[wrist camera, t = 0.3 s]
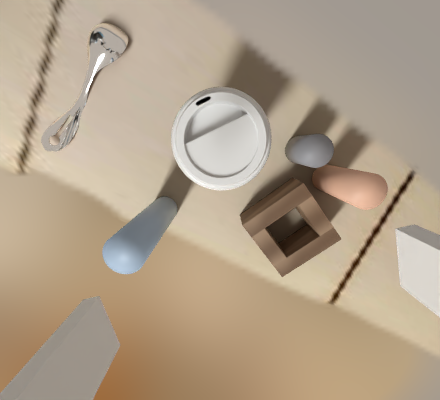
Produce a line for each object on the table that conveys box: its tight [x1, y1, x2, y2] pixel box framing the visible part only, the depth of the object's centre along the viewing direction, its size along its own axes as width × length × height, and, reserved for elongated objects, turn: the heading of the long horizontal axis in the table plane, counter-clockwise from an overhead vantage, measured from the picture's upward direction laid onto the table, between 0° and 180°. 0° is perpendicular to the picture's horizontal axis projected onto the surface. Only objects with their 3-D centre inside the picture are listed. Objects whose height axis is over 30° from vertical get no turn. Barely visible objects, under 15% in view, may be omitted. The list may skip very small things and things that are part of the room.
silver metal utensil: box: [41, 23, 128, 152], centre depth 32 cm, size 20×4×5 cm
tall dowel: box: [103, 197, 177, 274], centre depth 30 cm, size 4×4×16 cm
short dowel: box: [285, 134, 334, 168], centre depth 32 cm, size 4×4×7 cm
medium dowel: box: [312, 165, 388, 210], centre depth 31 cm, size 4×4×11 cm
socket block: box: [240, 178, 341, 277], centre depth 35 cm, size 10×10×5 cm
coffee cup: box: [171, 87, 271, 190], centre depth 28 cm, size 10×10×15 cm
